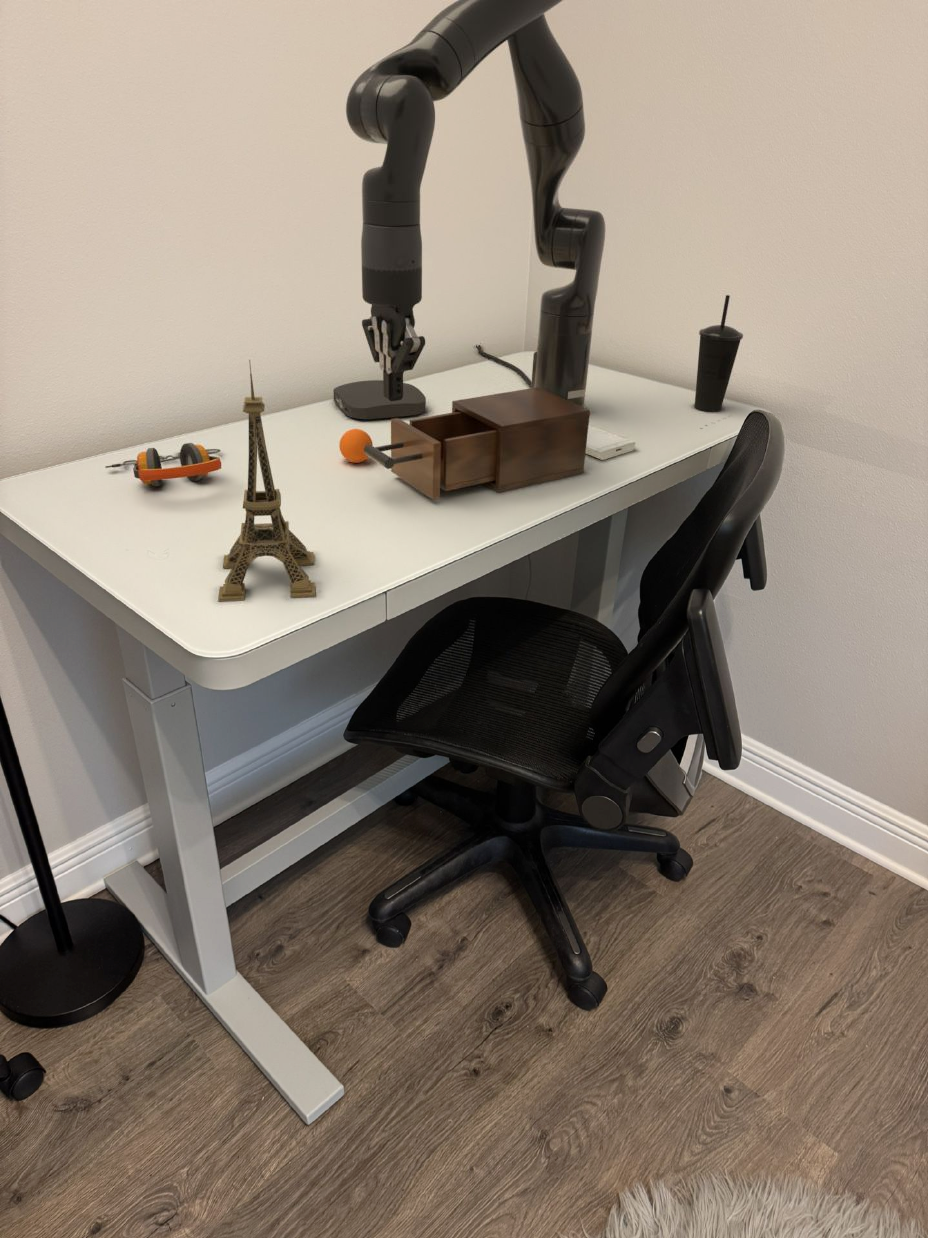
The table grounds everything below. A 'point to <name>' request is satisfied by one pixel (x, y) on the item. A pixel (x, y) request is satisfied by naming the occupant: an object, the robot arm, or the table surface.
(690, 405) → the table surface
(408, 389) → the media streaming box
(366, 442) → the ball
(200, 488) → the table surface
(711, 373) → the drinking cup
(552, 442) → the cabinet
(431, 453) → the drawer
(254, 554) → the eiffel tower
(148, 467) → the headphones
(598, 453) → the hard drive
